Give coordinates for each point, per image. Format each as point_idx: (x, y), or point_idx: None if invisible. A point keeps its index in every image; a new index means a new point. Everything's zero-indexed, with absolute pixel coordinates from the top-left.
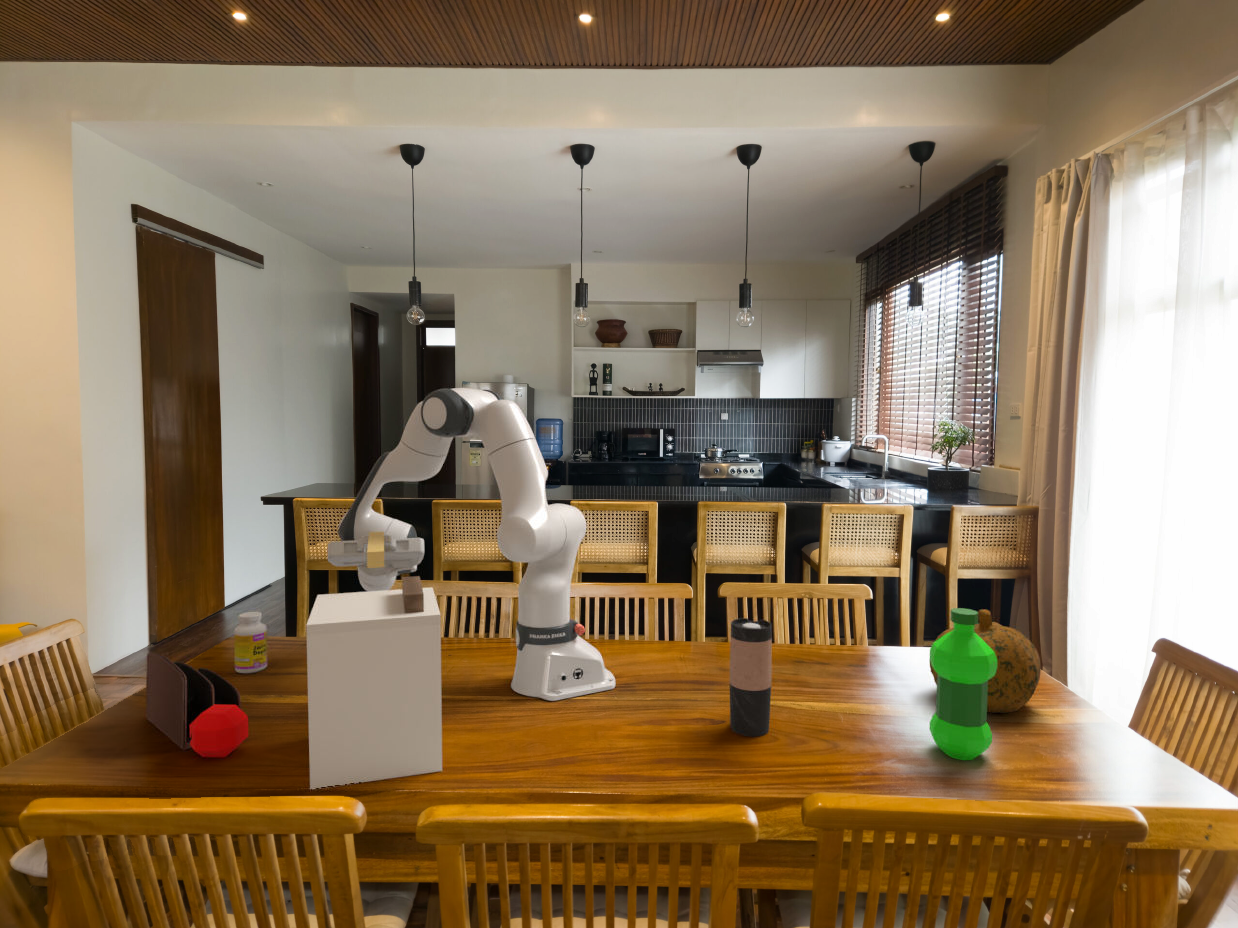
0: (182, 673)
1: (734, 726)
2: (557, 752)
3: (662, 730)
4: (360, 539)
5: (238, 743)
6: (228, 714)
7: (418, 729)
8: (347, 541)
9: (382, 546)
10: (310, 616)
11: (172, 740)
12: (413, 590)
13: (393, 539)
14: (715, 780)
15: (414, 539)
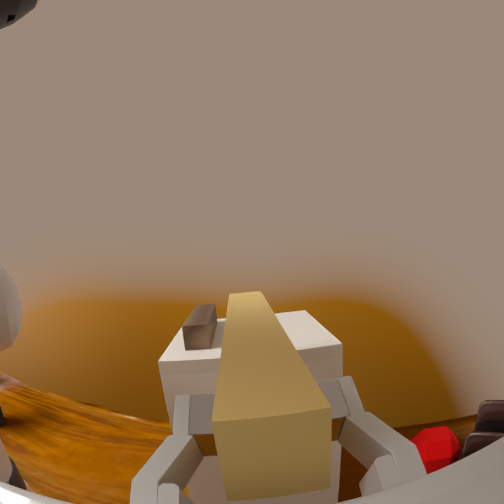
0: (489, 400)
1: (2, 419)
2: (111, 447)
3: (29, 441)
4: (378, 420)
5: None
6: (420, 434)
7: None
8: (486, 446)
9: (231, 302)
10: (310, 316)
11: None
12: (203, 308)
13: (155, 458)
14: (61, 406)
15: (14, 487)
